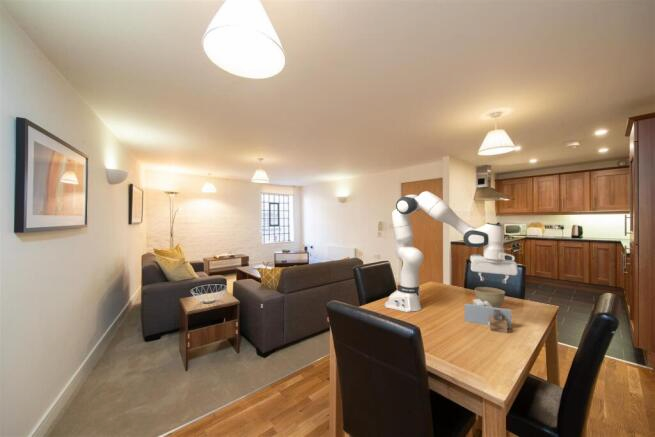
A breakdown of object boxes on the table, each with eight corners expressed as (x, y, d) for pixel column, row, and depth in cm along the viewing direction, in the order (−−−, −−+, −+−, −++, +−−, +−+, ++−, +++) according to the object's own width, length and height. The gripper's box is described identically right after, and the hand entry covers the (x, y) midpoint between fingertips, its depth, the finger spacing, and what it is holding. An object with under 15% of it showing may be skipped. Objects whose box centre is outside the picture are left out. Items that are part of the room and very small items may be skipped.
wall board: (464, 322, 139) (464, 305, 139) (464, 319, 143) (464, 303, 143) (511, 329, 130) (511, 311, 130) (510, 326, 133) (510, 309, 133)
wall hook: (501, 317, 143) (496, 300, 144) (481, 320, 145) (477, 303, 146) (495, 312, 151) (490, 295, 152) (476, 315, 153) (472, 299, 154)
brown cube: (490, 330, 129) (490, 312, 129) (489, 325, 135) (489, 308, 135) (507, 333, 126) (507, 315, 126) (505, 327, 132) (505, 310, 132)
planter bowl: (509, 308, 159) (509, 290, 159) (498, 314, 150) (497, 295, 150) (482, 301, 172) (482, 285, 172) (470, 306, 163) (469, 289, 163)
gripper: (470, 254, 133) (469, 280, 133) (518, 257, 124) (518, 286, 124) (470, 252, 139) (469, 278, 139) (516, 255, 129) (515, 283, 129)
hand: (492, 282), depth 131 cm, fingers open, 8 cm apart
